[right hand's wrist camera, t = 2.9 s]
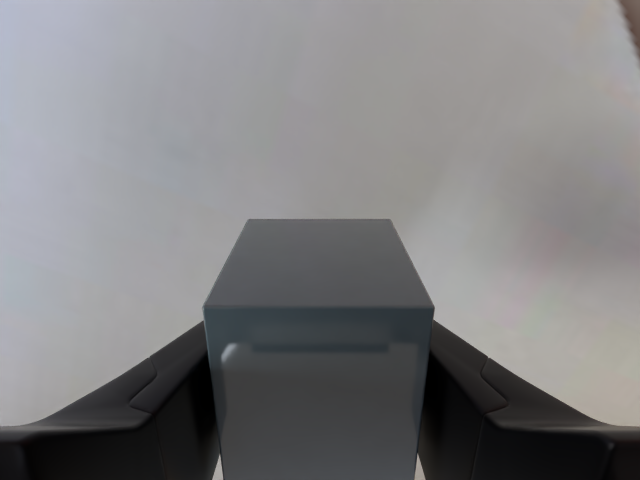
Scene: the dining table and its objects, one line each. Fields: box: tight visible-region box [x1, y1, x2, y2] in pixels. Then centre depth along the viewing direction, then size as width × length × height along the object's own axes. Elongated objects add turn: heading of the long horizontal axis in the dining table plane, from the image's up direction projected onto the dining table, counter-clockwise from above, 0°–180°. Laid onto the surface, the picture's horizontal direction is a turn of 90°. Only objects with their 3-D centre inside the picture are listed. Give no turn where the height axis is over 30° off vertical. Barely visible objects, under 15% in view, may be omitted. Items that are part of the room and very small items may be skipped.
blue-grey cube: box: [202, 219, 435, 480], centre depth 10 cm, size 4×5×5 cm
